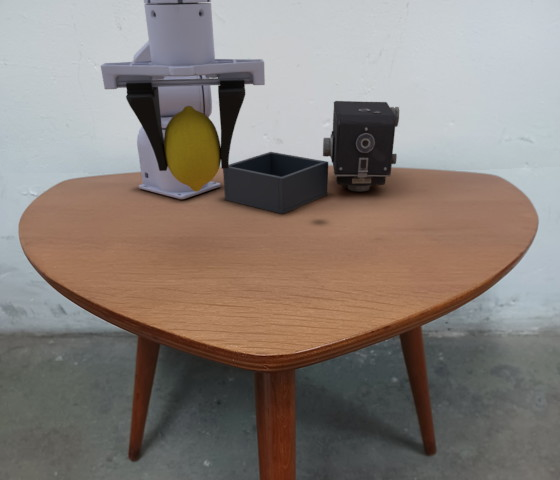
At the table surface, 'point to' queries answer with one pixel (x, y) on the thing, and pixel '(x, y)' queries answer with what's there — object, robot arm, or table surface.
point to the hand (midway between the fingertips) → (194, 167)
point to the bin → (276, 181)
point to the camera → (362, 143)
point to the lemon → (192, 148)
